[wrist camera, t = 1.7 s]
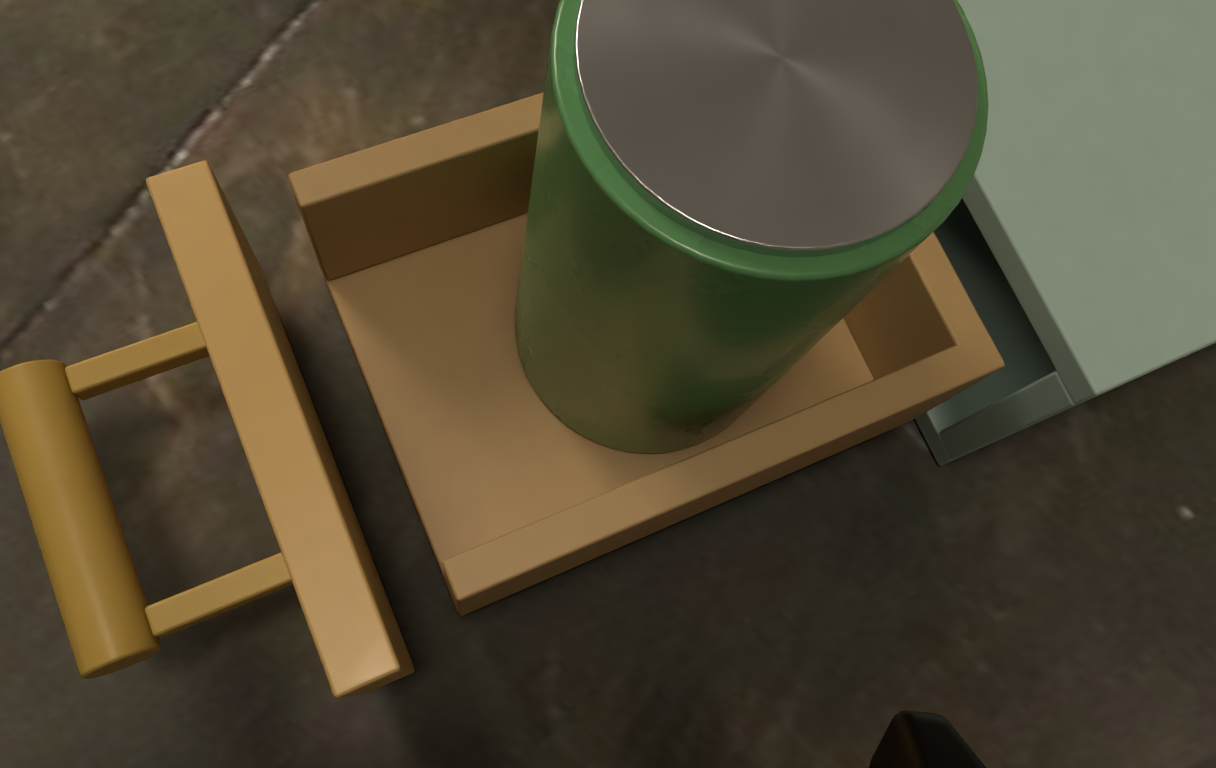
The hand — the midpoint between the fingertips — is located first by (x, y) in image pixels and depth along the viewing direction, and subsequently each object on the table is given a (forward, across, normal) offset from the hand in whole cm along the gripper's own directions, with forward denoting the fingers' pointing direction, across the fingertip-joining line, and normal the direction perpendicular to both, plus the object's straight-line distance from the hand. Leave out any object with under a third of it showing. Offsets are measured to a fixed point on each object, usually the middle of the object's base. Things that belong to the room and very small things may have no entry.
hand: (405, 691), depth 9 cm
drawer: (+14, 0, +7) cm, 16 cm away
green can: (+15, -4, +5) cm, 16 cm away
